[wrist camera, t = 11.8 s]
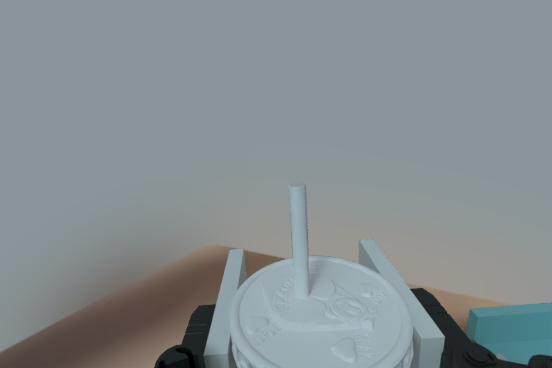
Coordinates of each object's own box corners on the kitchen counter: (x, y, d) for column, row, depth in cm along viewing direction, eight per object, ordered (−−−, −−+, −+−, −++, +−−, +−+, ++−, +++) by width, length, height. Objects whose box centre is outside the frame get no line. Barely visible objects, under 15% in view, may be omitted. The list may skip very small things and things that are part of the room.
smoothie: (289, 385, 17) (274, 159, 13) (405, 439, 14) (433, 167, 10) (222, 519, 12) (159, 210, 8) (383, 653, 9) (423, 262, 5)
